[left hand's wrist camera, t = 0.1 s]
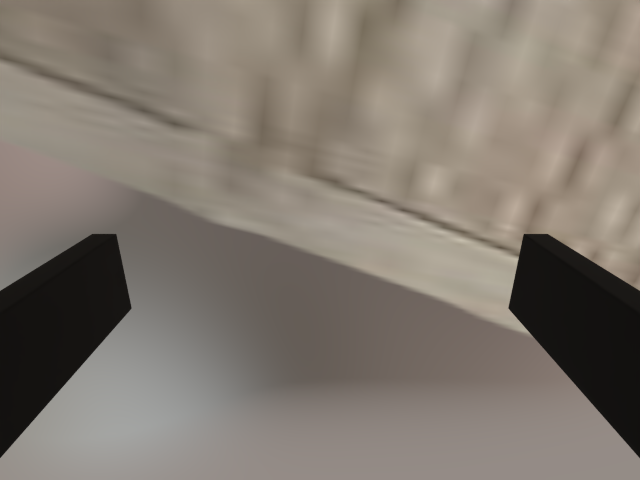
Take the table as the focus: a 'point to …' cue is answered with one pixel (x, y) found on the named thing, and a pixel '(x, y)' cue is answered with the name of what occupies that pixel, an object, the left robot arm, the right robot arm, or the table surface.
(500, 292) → the table surface
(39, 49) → the table surface
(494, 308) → the table surface
